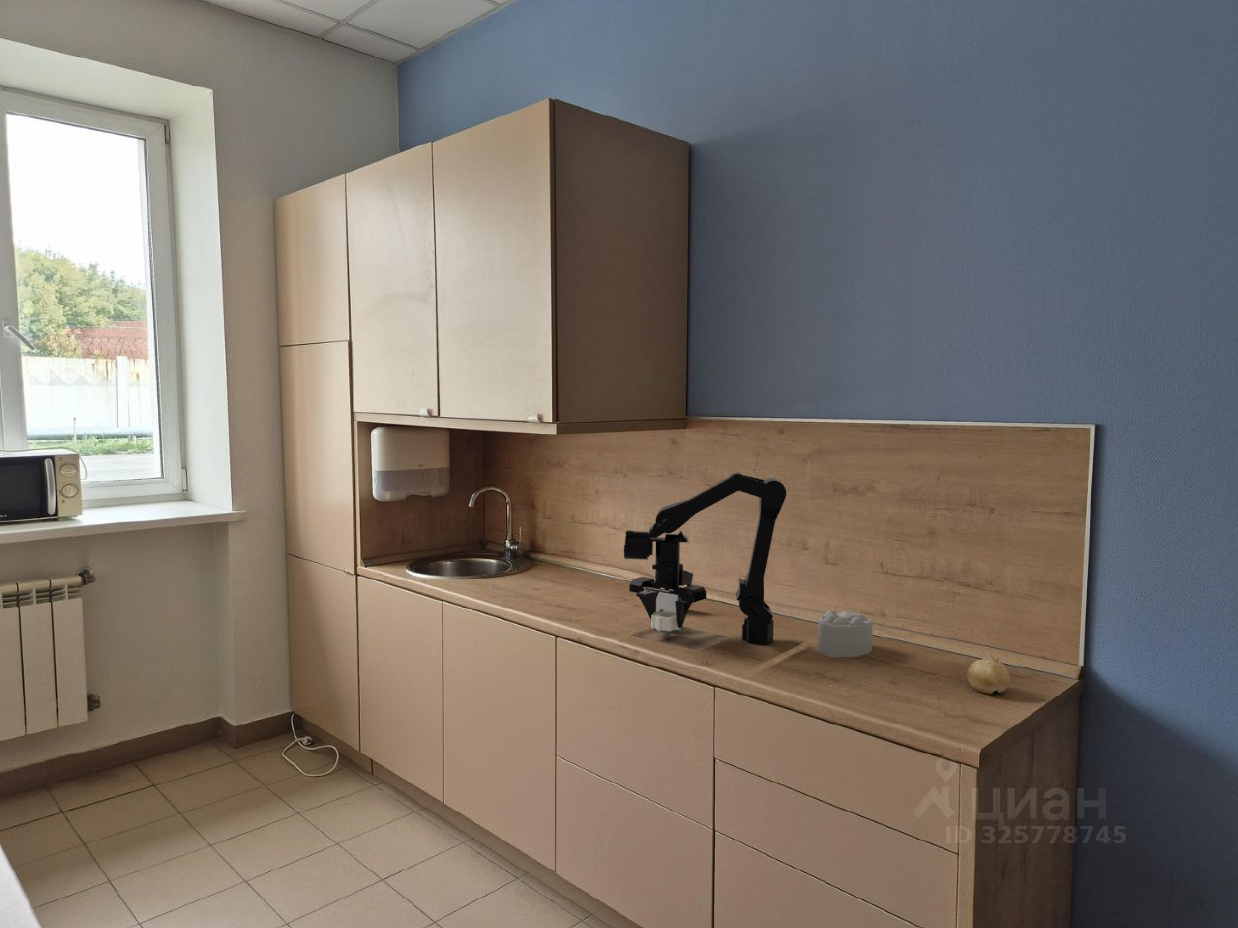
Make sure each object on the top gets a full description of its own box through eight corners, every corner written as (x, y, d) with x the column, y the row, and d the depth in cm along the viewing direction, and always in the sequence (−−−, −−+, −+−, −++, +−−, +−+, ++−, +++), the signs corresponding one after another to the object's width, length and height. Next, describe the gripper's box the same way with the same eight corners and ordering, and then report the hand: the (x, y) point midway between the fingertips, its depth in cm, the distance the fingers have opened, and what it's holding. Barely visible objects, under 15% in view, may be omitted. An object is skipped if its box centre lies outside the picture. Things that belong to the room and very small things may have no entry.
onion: (1010, 700, 166) (1011, 664, 165) (966, 694, 169) (967, 659, 169) (1008, 687, 173) (1010, 653, 173) (966, 682, 176) (968, 648, 176)
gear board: (731, 641, 204) (732, 620, 204) (701, 654, 193) (701, 633, 193) (662, 627, 216) (663, 607, 216) (630, 639, 205) (630, 618, 205)
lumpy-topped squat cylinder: (877, 650, 198) (879, 614, 197) (843, 661, 190) (844, 623, 189) (840, 640, 206) (841, 605, 205) (806, 650, 198) (807, 613, 197)
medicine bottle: (678, 616, 227) (678, 572, 226) (651, 615, 228) (652, 571, 227) (681, 610, 234) (682, 567, 233) (655, 608, 235) (656, 565, 234)
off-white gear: (670, 632, 198) (670, 620, 198) (645, 627, 202) (645, 615, 202) (687, 626, 204) (687, 614, 203) (662, 621, 208) (662, 609, 208)
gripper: (719, 559, 202) (717, 624, 204) (654, 551, 214) (653, 612, 215) (694, 567, 194) (693, 634, 195) (628, 557, 205) (627, 621, 206)
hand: (666, 624), depth 203 cm, fingers closed on off-white gear, 7 cm apart
